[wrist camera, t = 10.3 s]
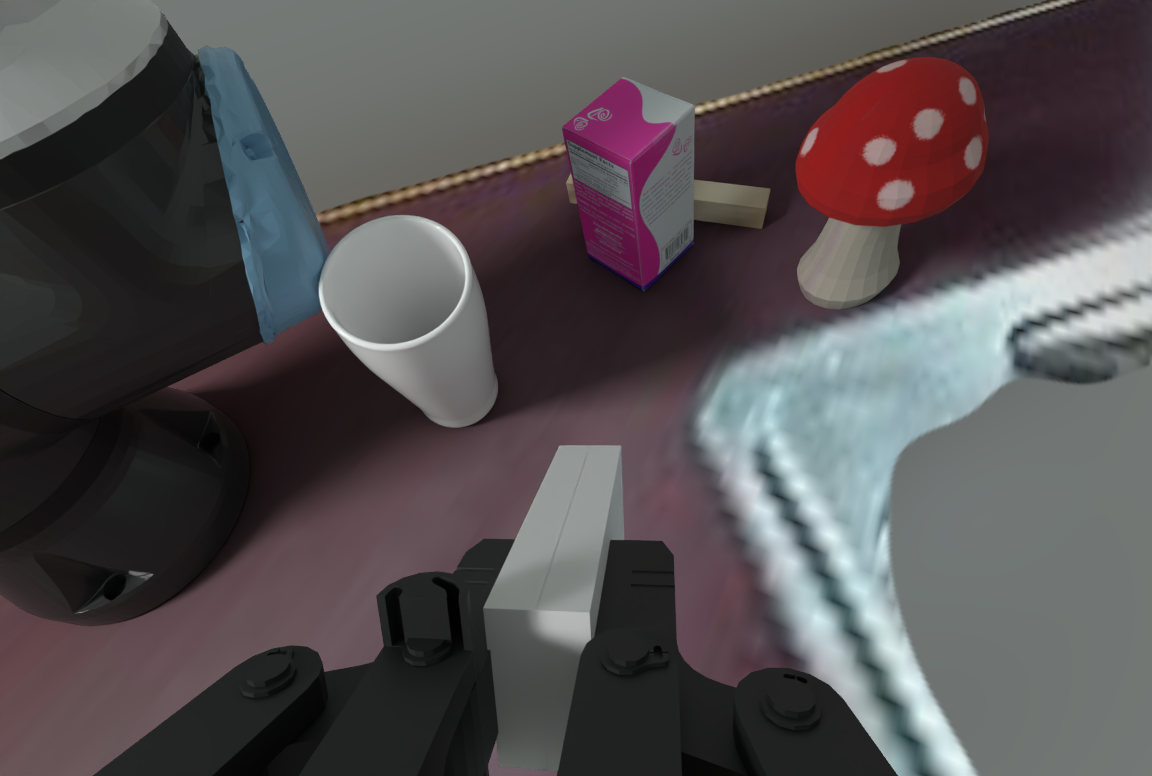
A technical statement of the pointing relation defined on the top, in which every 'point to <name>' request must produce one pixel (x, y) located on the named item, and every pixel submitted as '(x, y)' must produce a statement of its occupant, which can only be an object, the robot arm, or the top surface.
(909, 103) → the decorative mushroom
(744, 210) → the bar
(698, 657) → the top surface
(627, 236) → the supplement box
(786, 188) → the top surface
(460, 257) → the drinking glass
